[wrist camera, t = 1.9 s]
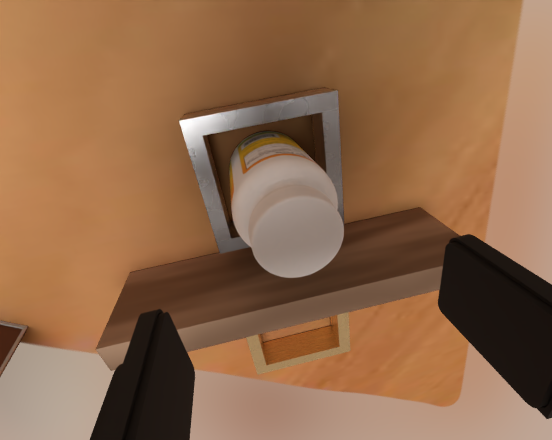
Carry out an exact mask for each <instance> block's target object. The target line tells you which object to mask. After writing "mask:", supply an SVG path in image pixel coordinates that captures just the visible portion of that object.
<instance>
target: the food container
mask: <svg viewBox="0 0 552 440" xmlns="http://www.w3.org/2000/svg"><path fill="white" fill-rule="evenodd" d="M27 328H28V326H25V325H20V324H15V323H10V322H5V321H0V376H1V374H2V373H3V371H4V369H5V367H6V366H7V364H8V362H9V361H10V359H11V357H12V355H13V353H14V352H15V350H16V348H17V347H18V345H19V343H20V341H21V340H22V338H23V336H24V334H25V333H26V330H27Z"/></svg>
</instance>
